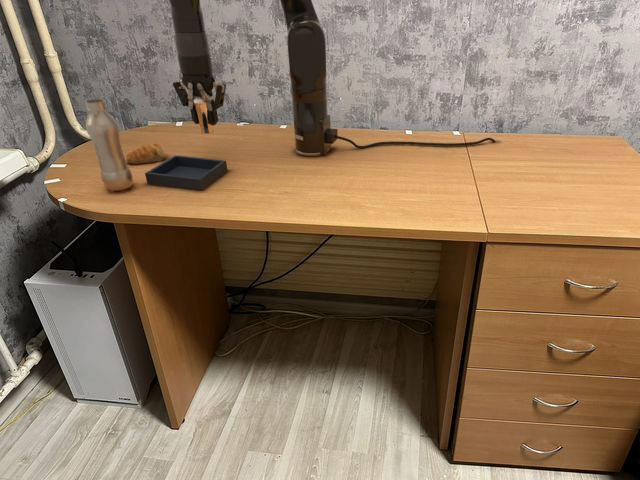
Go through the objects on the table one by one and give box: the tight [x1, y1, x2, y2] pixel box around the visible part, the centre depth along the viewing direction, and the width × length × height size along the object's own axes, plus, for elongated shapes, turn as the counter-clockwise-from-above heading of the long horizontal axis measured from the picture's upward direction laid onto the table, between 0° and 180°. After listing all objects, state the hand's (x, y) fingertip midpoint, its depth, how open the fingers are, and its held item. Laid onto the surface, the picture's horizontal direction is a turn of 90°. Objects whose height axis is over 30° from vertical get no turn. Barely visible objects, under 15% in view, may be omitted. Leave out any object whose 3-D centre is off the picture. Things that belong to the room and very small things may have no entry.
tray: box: [144, 154, 229, 192], centre depth 118 cm, size 15×13×3 cm
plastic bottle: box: [85, 98, 134, 191], centre depth 108 cm, size 6×7×20 cm
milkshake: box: [193, 95, 215, 135], centre depth 123 cm, size 5×5×10 cm
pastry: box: [125, 142, 166, 165], centre depth 128 cm, size 9×7×4 cm
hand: (205, 123), depth 124 cm, fingers closed on milkshake, 4 cm apart
